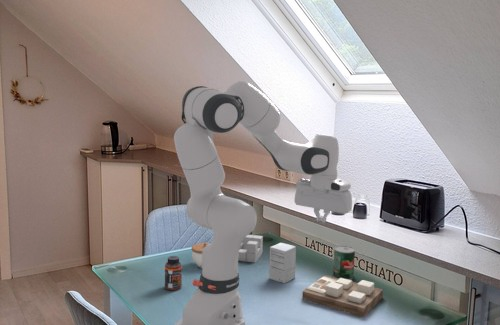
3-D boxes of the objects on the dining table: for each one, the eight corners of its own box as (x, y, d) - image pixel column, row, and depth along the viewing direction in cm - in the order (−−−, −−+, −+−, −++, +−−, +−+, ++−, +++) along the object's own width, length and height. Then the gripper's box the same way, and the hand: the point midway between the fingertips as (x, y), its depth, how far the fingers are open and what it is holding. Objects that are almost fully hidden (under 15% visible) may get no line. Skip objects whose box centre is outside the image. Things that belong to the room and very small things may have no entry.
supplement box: (279, 273, 191) (280, 242, 189) (295, 278, 186) (296, 246, 184) (268, 278, 185) (269, 246, 183) (284, 283, 181) (285, 251, 179)
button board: (363, 317, 156) (364, 307, 155) (302, 299, 168) (302, 290, 167) (382, 297, 170) (383, 288, 170) (324, 282, 182) (325, 274, 182)
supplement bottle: (173, 292, 171) (172, 261, 169) (161, 288, 175) (161, 257, 173) (185, 287, 176) (185, 257, 174) (173, 283, 179) (173, 253, 178)
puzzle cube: (236, 250, 216) (236, 233, 215) (262, 253, 213) (262, 236, 212) (227, 259, 205) (227, 241, 204) (255, 262, 202) (255, 244, 201)
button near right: (360, 307, 159) (360, 298, 158) (347, 304, 161) (348, 295, 161) (365, 303, 163) (365, 293, 162) (352, 299, 165) (353, 290, 164)
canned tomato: (349, 281, 184) (350, 253, 182) (329, 277, 188) (330, 249, 186) (356, 275, 190) (358, 248, 189) (337, 270, 194) (338, 244, 193)
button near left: (337, 298, 163) (338, 289, 163) (325, 294, 166) (325, 285, 165) (342, 293, 167) (343, 284, 166) (331, 290, 169) (331, 281, 169)
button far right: (369, 296, 165) (369, 287, 165) (356, 292, 168) (357, 283, 167) (373, 291, 169) (374, 282, 168) (361, 288, 171) (362, 279, 171)
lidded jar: (206, 258, 205) (206, 237, 204) (223, 265, 198) (223, 243, 196) (186, 265, 198) (186, 242, 196) (203, 272, 190) (203, 249, 189)
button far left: (346, 293, 170) (347, 284, 169) (335, 290, 172) (335, 281, 172) (351, 289, 174) (352, 280, 173) (340, 286, 176) (340, 277, 175)
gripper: (292, 179, 169) (290, 218, 171) (347, 187, 157) (344, 229, 159) (301, 177, 174) (299, 214, 176) (355, 184, 162) (352, 225, 164)
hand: (321, 221), depth 167 cm, fingers closed
